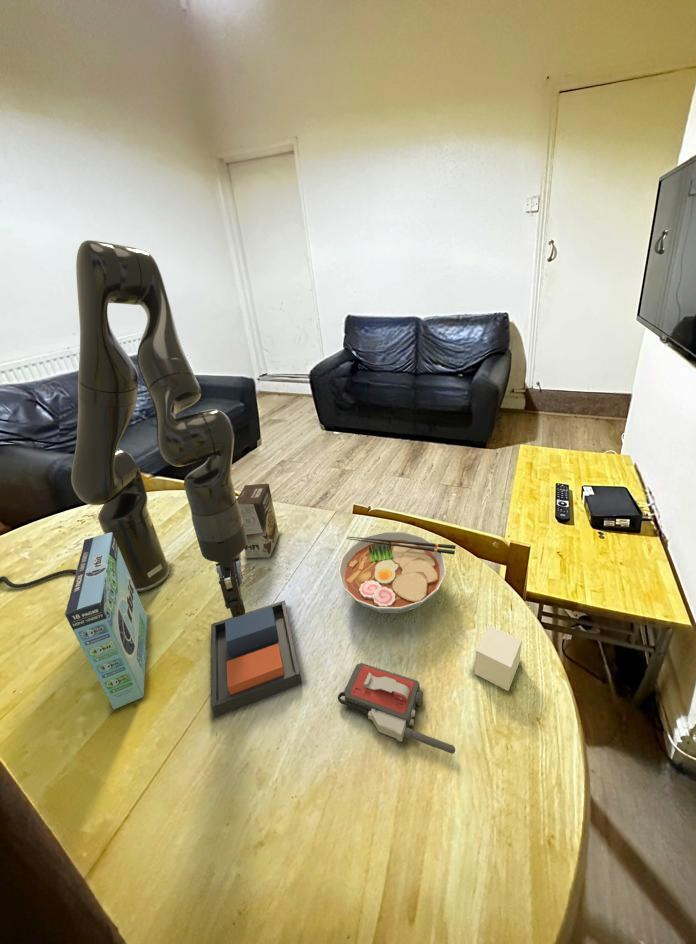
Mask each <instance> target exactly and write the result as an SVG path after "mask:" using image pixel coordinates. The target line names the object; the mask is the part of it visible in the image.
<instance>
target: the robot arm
mask: <svg viewBox="0 0 696 944" xmlns="http://www.w3.org/2000/svg"><path fill="white" fill-rule="evenodd" d="M76 253H77V254H76V262H75V272H76V273H75V275H76V292H77V305H78V318H79V320H78V321H79V355H78V356H79V357H78V358H79V359H78V360H79V361H78V373H77V403H78V404H77V405H78V406H77V427H76V428H77V429H76V444H75V450H74V455H73V461H72V468H71V474H70V475H71V476H70V481H71V487H72V489H73V492H74V493H75V494H76V496H77V497H78V499H80V500H81V501H82V502H84V503H85V504H87V505H90V506H101V509H100V511H99V513H98V516H97V520H98V523H99V525H100V528H101V530H102V532H103V534H107V533H111V532H112V533H113V535H114V538H115V540H116V542H117V545H118V547H119V550H120V552H121V555H122V557H123V560H124V562H125V565H126V567H127V569H128V572H129V574H130V577H131V579H132V582H133V584H134V587H135V589H136V591H137V593H143V592H147V591H150V590H153V589H154V588H156V587H157V586H159V585H161V584H162V583H163V582H164V581H166V579H167V578H168V576H170V572H171V569H170V566H169V564H168V561H167V559H166V556H165V553H164V550H163V548H162V545H161V542H160V539H159V537H158V534H157V531H156V528H155V525H154V523H153V520H152V517H151V515H150V512H149V508H148V500H149V499H148V493H147V489H146V486H145V483H144V479H143V476H142V472H141V469H140V467H139V464H138V463H137V461H136V460H135V458H134V457H133V456H132V455H131V454H130V453H129V452H128V451H126V450H124V449H121V448H119V444H120V442H121V440H122V437H123V436H124V434H125V432H126V430H127V428H128V426H129V424H130V422H131V420H132V417H133V415H134V412H135V409H136V407H137V402H138V391H139V379H140V378H139V373H140V375H141V378H142V380H143V382H144V385H145V387H146V389H147V391H148V394H149V396H150V399H151V401H152V405H153V409H154V414H155V422H156V438H157V440H156V442H157V448H158V452H159V454H160V456H161V458H162V459H163V460H164V461H165V462H166V463H167V464H169V465H171V466H174V467H179V468H181V467H184V466H188V465H192V464H194V463H197V462H200V461H204V460H206V459H207V460H206V461H205V462H204V463H203V464H201V465H200V466H197V468H195V469H193V470H192V471H191V472H189V473H188V474H186V477H185V478H184V480H183V488H184V492H185V495H186V499H187V502H188V506H189V509H190V512H191V514H190V515H191V522H192V525H193V529H194V533H195V535H196V539H197V542H198V547H199V549H200V553H201V556H202V557H203V558H204V559H205V560H207V561H210V562H214V563H215V570H216V573H217V574H218V577H219V580H218V585H220V589H221V593H222V598H223V601H224V605H225V606H224V607H225V608H226V610H228V609H229V611H230V614H231V617H238V616H241V615H244V614H245V613H246V607H245V604H244V599H243V596H244V595H243V593H242V588H241V586H242V585H243V573H242V562H241V561H242V557H241V553H242V552H243V551H245V550H244V548H245V547H246V545H247V536H246V532H245V527H244V523H243V518H242V514H241V510H240V507H239V504H238V502H237V496H236V492H235V486H234V482H233V477H232V466H233V465H232V463H233V454H234V445H235V432H234V427H233V424H232V422H231V420H230V418H229V416H228V415H227V414H226V413H225V412H223V411H221V410H219V409H217V408H216V409H215V408H210V409H206V410H203V411H198V412H195V413H191V414H186V415H184V416H180V417H176V416H177V415H178V414H180V413H181V412H182V411H184V410H187V409H189V408H190V407H192V406H194V405H195V404H196V403H197V402H198V401H200V399H201V396H202V389H201V386H200V383H199V381H198V380H197V376H196V375H195V373H194V370H193V369H192V366H191V364H190V361H189V360H188V358H187V356H186V353H185V351H184V349H183V346H182V344H181V341H180V338H179V335H178V330H177V327H176V323H175V319H174V317H173V311H172V308H171V304H170V301H169V297H168V293H167V290H166V286H165V283H164V280H163V276H162V272H161V270H160V267H159V265H158V264H157V262H156V260H155V258H154V257H153V256H152V255H151V254H150V252H148V251H146V250H144V249H141V248H138V247H132V246H127V245H123V244H116V243H110V242H105V241H99V240H92V239H91V240H90V239H87V240H84V241H82V242H81V243H80V245H79V247H78V249H77V252H76ZM109 304H120V305H133V306H141V307H142V309H143V310H144V313H145V314H146V324H145V328H144V331H143V333H142V336H141V338H140V341H139V345H138V348H137V352H136V360H137V366H138V367H137V368H138V369H137V368H136V365H135V363H134V362H133V360H132V359H131V357H129V355H128V353H127V351H126V350H125V349H124V348H123V346H122V345H121V343H120V342H119V340H118V338H117V337H116V336H115V334H114V332H113V329H112V328H111V325H110V321H109V313H108V310H109V309H108V306H109ZM138 370H139V372H138ZM76 571H77V569H73V568H72V569H70V568H69V569H63V570H60V571H56V572H53V573H50V574H48V575H45V576H42V577H40V578H38V579H35V580H31V581H29V582H24V583H14V582H12V581H10V580H9V579H8V578H7V577H6V576H3V575H2V576H0V582H3V583H4V584H5V585H6V586H8V587H9V588H13V589H22V588H27V587H30V586H34V585H37V584H39V583H41V582H45V581H47V580H49V579H51V578H54V577H57V576H61V575H66V574H76Z"/></svg>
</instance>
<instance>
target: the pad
mask: <svg viewBox="0 0 696 944" xmlns="http://www.w3.org/2000/svg"><path fill="white" fill-rule="evenodd" d="M283 675H285V673H284V667H283V661H282V656H281V652H280V648H279V644H275V645H272V646H269V647H267V648H264V649H261V650H258V651H255V652H252V653H250V654H247V655H244V656H241V657H238V658H235V659H233V660H230V661H227V684H228V690H229V693H230V696H231V695H233V694H236V693H239V692H241V691H244V690H246V689H249V688H252V687H254V686H257V685H260V684H262V683H265V682H268V681H270V680H273V679H276V678H278V677H281V676H283Z"/></svg>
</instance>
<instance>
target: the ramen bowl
mask: <svg viewBox="0 0 696 944" xmlns="http://www.w3.org/2000/svg"><path fill="white" fill-rule="evenodd" d="M345 539H346V540H351V541H357V542H355V543H353V544H352V545H351V546H349V548H348V549H347V551H346V552H345V553H344V554H343V555H342V557H341V559H340V563H339V568H338V572H337V573H338V577H339V580H340V584H341V587H342V589H343V590H344V591H345V592H346V593H347V594H348V595H349V596H350V597H351V598H352V599H353V600H355V601H356V602H357V603H358V604H359V605H361V606H362V607H364V608H367V609H370V610H372V611H375V612H378V613H380V614H402V613H404V612H407V611H411V610H414V609H417V608H419V607H420V606H421V605H423V604H424V603H426V601H428V600H429V599H430V598H431V597H433V596H434V595H435V594H436V593H437V591H439V589H440V586H441V585H442V582H443V581H444V580H445V579H444V578H445V576H446V574H447V570H446V561H445V560H446V559H445V557H444V556H443V554H446V555H455V554H456V551H455V550H456V549H457V548H456V547H457V546H456V544H446V543H445V544H444V543H434V542H432V541H429V540H428V539H427V538H425V537H423V536H421V535H418V534H415V533H411V532H407V531H381V532H378V533H374V534H370V535H367V536H366V537H359V536H358V537H357V536H347V537H346V538H345Z"/></svg>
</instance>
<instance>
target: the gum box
mask: <svg viewBox="0 0 696 944" xmlns="http://www.w3.org/2000/svg"><path fill="white" fill-rule="evenodd" d="M76 570H77V571H76V573H75V576H74V579H73V583H72V586H71V591H70V595H69V599H68V601H67V605H66V608H65V611H64V615H65V617H66V619H67V621H68V623H69V625H70V628H71V629H72V632H73V633H74V635H75V638H76V640H77V641H78V643H79V644H80V646H81V649H82V650H83V652H84V654H85V657H86V658H87V660H88V662H89V664H90V667H91V669H92V670H93V672H94V674H95V676H96V678H97V680H98V683H99V684H100V686H101V688H102V689H103V692H104V694H105V696H106V698H107V700H108V701H109V704H110V706H111V707H112V709H113V710H114V711H115V710H117V709H119V708H121V707H124V706H126V705H128V704H131V703H133V702H136V701H138V700H140V699H143V698H144V696H145V676H146V654H147V635H148V634H147V633H148V615H147V614H146V611H145V609H144V606H143V604H142V601H141V599H140V597H139V593H138V592H137V591H136V589H135V587H134V584H133V582H132V579H131V577H130V574H129V572H128V569H127V567H126V565H125V562H124V560H123V557H122V555H121V552H120V550H119V547H118V545H117V542H116V540H115V538H114V535H113V533H112V532H111V533H107V534H104V533H103V534H100V535H96V536H92V537H89V538H86V539H84V540H83V544H82V549H81V553H80V556H79V559H78V565H77V567H76Z"/></svg>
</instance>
